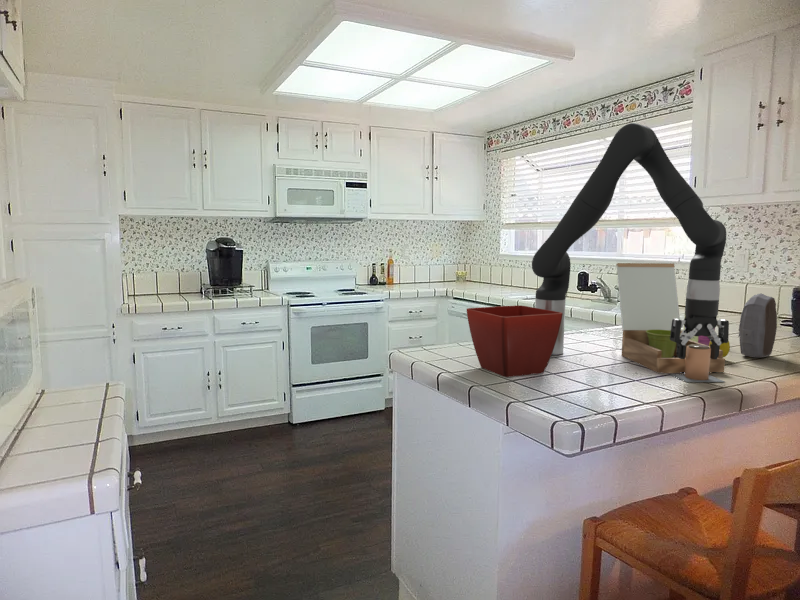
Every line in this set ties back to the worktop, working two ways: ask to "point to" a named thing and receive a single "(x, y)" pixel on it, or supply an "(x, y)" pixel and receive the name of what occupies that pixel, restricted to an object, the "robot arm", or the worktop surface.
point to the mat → (682, 377)
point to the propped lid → (647, 295)
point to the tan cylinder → (697, 362)
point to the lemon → (724, 348)
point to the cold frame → (659, 354)
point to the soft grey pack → (758, 326)
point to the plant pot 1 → (513, 338)
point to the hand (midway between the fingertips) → (697, 358)
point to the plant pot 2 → (662, 342)
